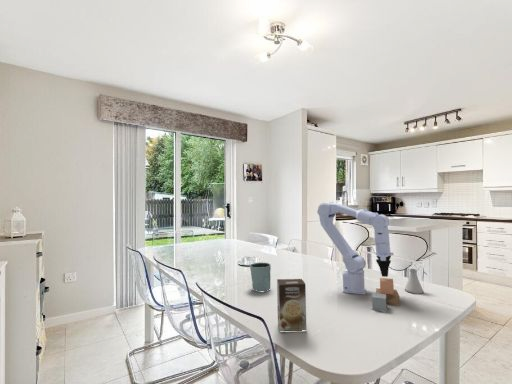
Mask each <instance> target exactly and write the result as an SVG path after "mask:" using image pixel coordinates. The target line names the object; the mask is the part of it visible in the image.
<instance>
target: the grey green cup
mask: <svg viewBox="0 0 512 384" xmlns="http://www.w3.org/2000/svg"><path fill="white" fill-rule="evenodd" d="M271 267H272V266H271V263H269V262H255V263H251V264H250V265H249V270H250V276H251V281H252V283H251V286H252V290H253V289H254V290H257V291H267V290H269V289H270V290H271ZM270 290H269V291H270ZM267 292H268V291H267Z"/></svg>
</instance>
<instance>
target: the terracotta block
mask: <svg viewBox="0 0 512 384" xmlns="http://www.w3.org/2000/svg"><path fill="white" fill-rule="evenodd" d="M379 289H380V293H382V294H392V295H394V290H395V289H394V279H393V278H387V277H379Z"/></svg>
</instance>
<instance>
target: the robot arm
mask: <svg viewBox="0 0 512 384" xmlns="http://www.w3.org/2000/svg"><path fill="white" fill-rule="evenodd" d="M316 212H317V214H318V216H319V217H318V218H319V221H320V226H321V227H322V228H323V229H322V230H324V231H325V233H326V235H327V236H328V237H329V239H330V240H331V242H332V243H333V244H334V245H335V247H336V248H337V250H338V251H339V252H340V254H341V256H342V262H343V264H344V265H345V269H346V270H343V272H342V290H343V291H342V293H346V294H354V295H356V294H357V295H366V292H367V288H366V287H365V286H366V284H365V269H364V268H365V267H366V264H367V263H366V260H365V258H364V257H363V256H362V255H360V254H358V252H357V251H356V250H354V249H353V248H352V247H351V246H350V244H349V242H347V240H346V239H345V237H344V236H343V235H342V233H341V232H340V231H339V229H338V228H337V227H336V225H335V223H334V220H335V219H334V218H335V216H336V214H337V213H339V214H344V215H347V216H351V217H353V218H355V219H356V221H358V222H360V223H364V224H365V225H369V226H372V227H373V228H374V229H373V230H374V242H375V243H374V244H375V255H376V257H377V259H376V260H375V261H376V264H377V265H378V267H379V270H380V275H381V278H387V277H389V268H390V265H391V263H392V260H391V258H392V257H391V256H394V252H391V244H390V232H389V224H390V219H389V217H388V216H387V215H385V214H383V213H381V214H379V213H378V212H372V211H370V210H368V208H361V209H359V210H357V209H354V208H351V207H350V206H347V205H344V204H341V203H335V202H334V201H333V202H332V201H330V202H322V203H320V204H319V205H318V208H317V211H316Z"/></svg>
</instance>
